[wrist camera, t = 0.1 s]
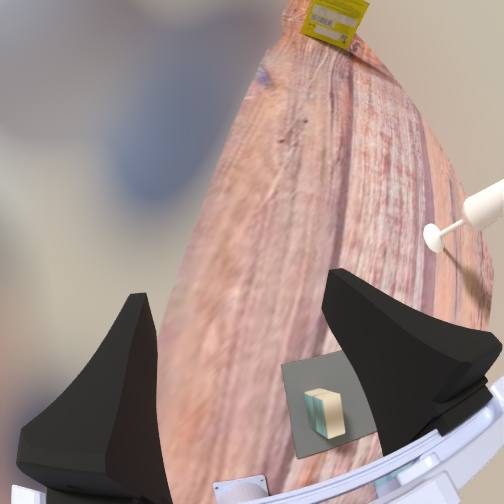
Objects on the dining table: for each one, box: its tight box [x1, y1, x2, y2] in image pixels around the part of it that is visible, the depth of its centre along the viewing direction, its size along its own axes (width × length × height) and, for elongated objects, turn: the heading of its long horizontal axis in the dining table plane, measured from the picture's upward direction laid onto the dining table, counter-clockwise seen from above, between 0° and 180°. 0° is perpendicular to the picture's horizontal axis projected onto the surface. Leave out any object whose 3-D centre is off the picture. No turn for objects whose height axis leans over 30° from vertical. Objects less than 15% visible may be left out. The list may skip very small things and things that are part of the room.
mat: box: [281, 350, 377, 459], centre depth 40 cm, size 16×15×1 cm
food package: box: [301, 0, 370, 50], centre depth 63 cm, size 15×1×20 cm, turn 75°
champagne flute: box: [424, 179, 504, 253], centre depth 43 cm, size 7×7×24 cm
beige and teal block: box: [304, 388, 345, 439], centre depth 36 cm, size 6×3×7 cm, turn 9°
